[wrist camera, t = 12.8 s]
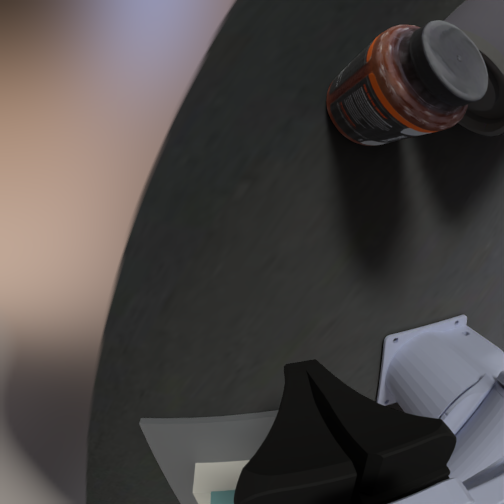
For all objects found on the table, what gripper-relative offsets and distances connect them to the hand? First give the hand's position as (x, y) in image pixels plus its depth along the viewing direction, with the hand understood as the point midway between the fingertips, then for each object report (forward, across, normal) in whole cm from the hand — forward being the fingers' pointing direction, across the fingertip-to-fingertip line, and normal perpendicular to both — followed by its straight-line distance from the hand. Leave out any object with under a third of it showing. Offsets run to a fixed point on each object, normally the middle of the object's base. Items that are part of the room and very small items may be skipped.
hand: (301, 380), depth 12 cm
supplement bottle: (+11, -8, -13) cm, 19 cm away
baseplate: (+10, +3, +19) cm, 22 cm away
